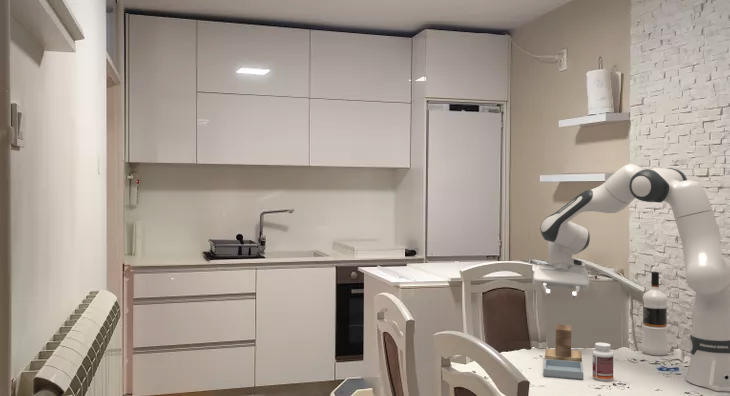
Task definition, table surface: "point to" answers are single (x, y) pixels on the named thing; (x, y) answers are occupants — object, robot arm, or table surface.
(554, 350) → the oak board
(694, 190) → the robot arm
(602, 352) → the pill bottle
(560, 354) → the walnut block
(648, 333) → the vodka
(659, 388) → the table surface
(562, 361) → the tray
